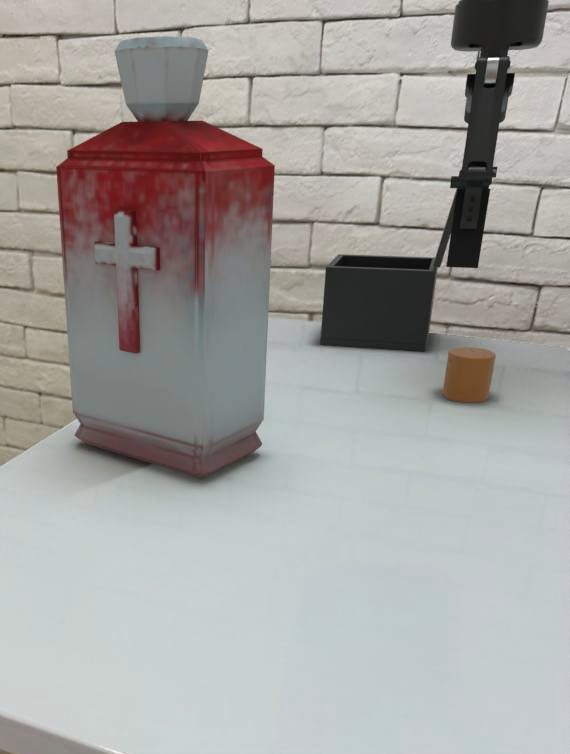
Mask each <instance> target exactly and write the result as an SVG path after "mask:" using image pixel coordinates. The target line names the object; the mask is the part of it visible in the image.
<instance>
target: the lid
mask: <svg viewBox="0 0 570 754" xmlns="http://www.w3.org/2000/svg"><path fill="white" fill-rule="evenodd" d="M456 194H457V188H455V193H454V195H453V199H452V202H451V204H450V205H451V206H450V208H449V211H448V215H447V217H446V221H445V225H444V228H443V231H442V234H441V238H440V241H439V244H438V247H437V250H436V254H435V257H434V258H435V261H434V265H433V266H435V267H438V268H441V266H442V263H443V259H444V256H445V254H446V250H447V247H448V244H449V242H450V237H451V230H452V223H453V216H454V208H455V201H456Z"/></svg>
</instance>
